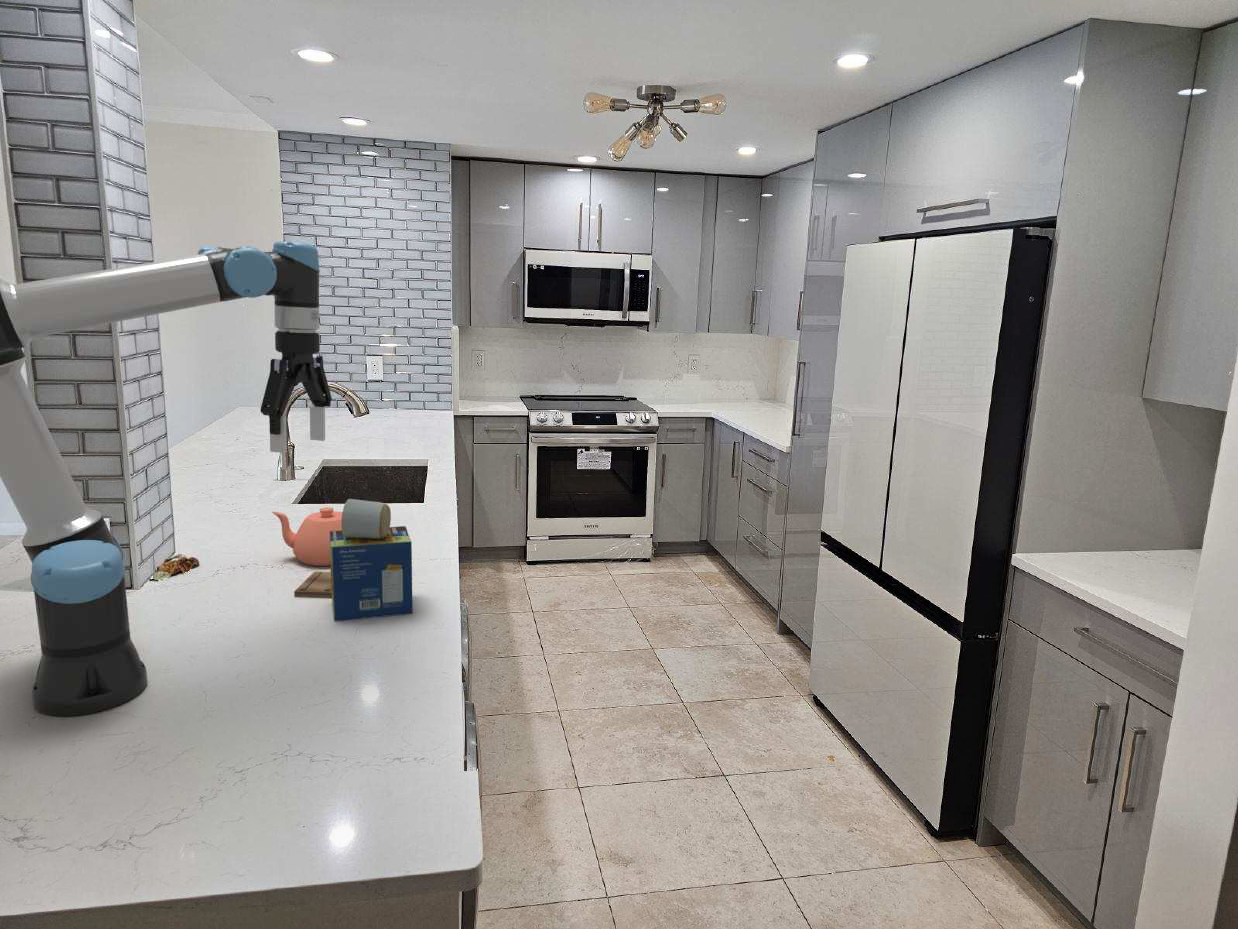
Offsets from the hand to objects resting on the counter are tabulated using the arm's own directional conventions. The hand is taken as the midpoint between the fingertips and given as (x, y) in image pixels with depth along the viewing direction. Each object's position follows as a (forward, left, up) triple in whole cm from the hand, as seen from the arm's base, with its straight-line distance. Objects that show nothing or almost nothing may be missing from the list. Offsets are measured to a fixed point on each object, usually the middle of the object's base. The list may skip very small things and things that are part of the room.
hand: (298, 445), depth 149 cm
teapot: (+34, +15, -35) cm, 51 cm away
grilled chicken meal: (+17, +42, -35) cm, 57 cm away
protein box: (+9, -9, -35) cm, 37 cm away
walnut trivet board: (+17, +6, -35) cm, 39 cm away
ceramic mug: (+9, -9, -20) cm, 23 cm away
